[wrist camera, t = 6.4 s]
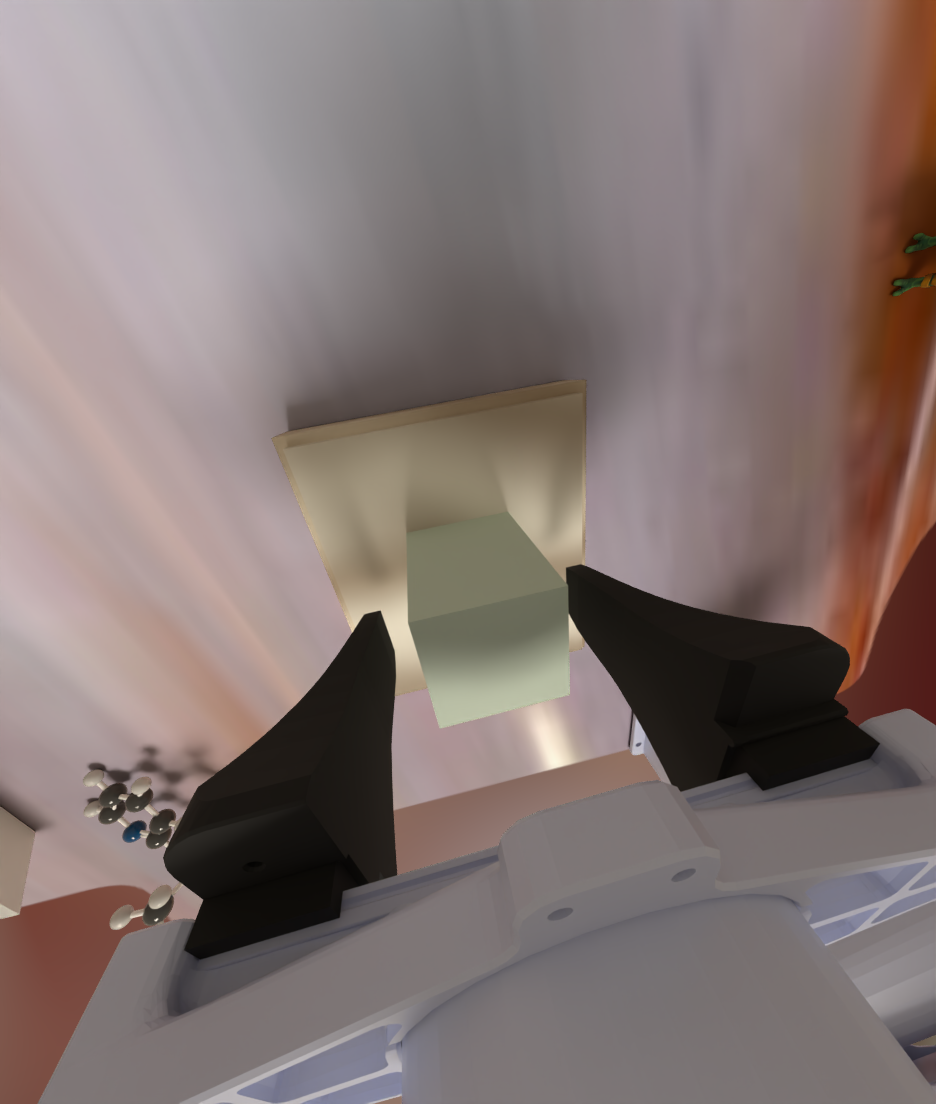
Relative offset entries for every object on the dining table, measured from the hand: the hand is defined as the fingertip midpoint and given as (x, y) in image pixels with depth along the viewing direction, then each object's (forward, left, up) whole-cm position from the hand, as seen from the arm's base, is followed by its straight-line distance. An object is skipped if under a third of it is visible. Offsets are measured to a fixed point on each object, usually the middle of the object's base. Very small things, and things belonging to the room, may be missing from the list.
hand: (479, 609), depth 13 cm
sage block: (0, 0, -3) cm, 3 cm away
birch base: (0, 0, -5) cm, 5 cm away
